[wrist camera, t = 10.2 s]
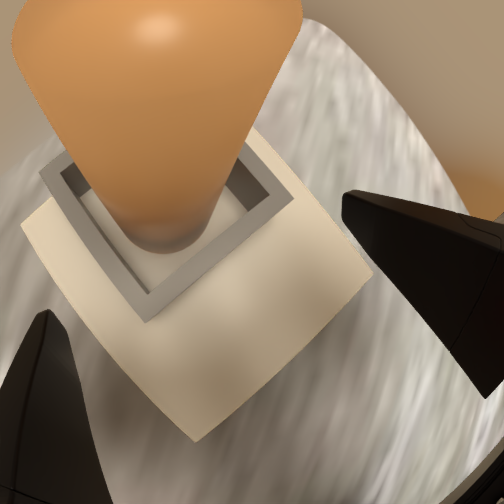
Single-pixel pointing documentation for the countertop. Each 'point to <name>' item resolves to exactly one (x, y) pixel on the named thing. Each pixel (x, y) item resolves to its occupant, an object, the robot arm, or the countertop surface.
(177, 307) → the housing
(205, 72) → the orange rounded part
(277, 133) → the countertop surface
